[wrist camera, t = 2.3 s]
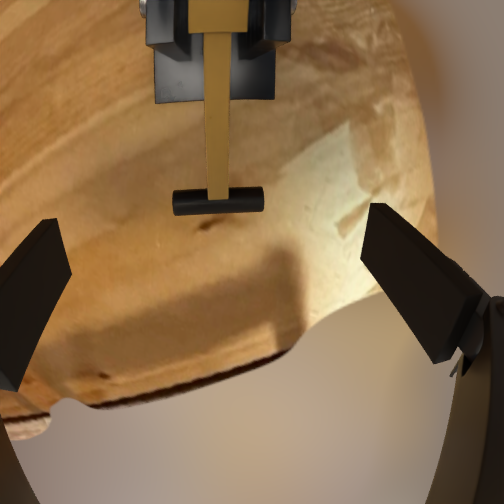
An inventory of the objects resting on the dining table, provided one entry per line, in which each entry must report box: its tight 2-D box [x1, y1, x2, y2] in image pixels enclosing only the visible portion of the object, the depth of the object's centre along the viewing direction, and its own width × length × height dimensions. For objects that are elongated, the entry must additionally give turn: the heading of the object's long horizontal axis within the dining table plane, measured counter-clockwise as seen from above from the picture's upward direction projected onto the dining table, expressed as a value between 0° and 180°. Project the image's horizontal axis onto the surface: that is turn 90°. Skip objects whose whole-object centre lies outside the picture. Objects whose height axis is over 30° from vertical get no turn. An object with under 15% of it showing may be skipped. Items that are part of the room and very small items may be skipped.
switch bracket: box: [139, 0, 297, 104], centre depth 13 cm, size 10×8×12 cm
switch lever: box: [172, 0, 264, 216], centre depth 14 cm, size 13×5×2 cm, turn 179°
